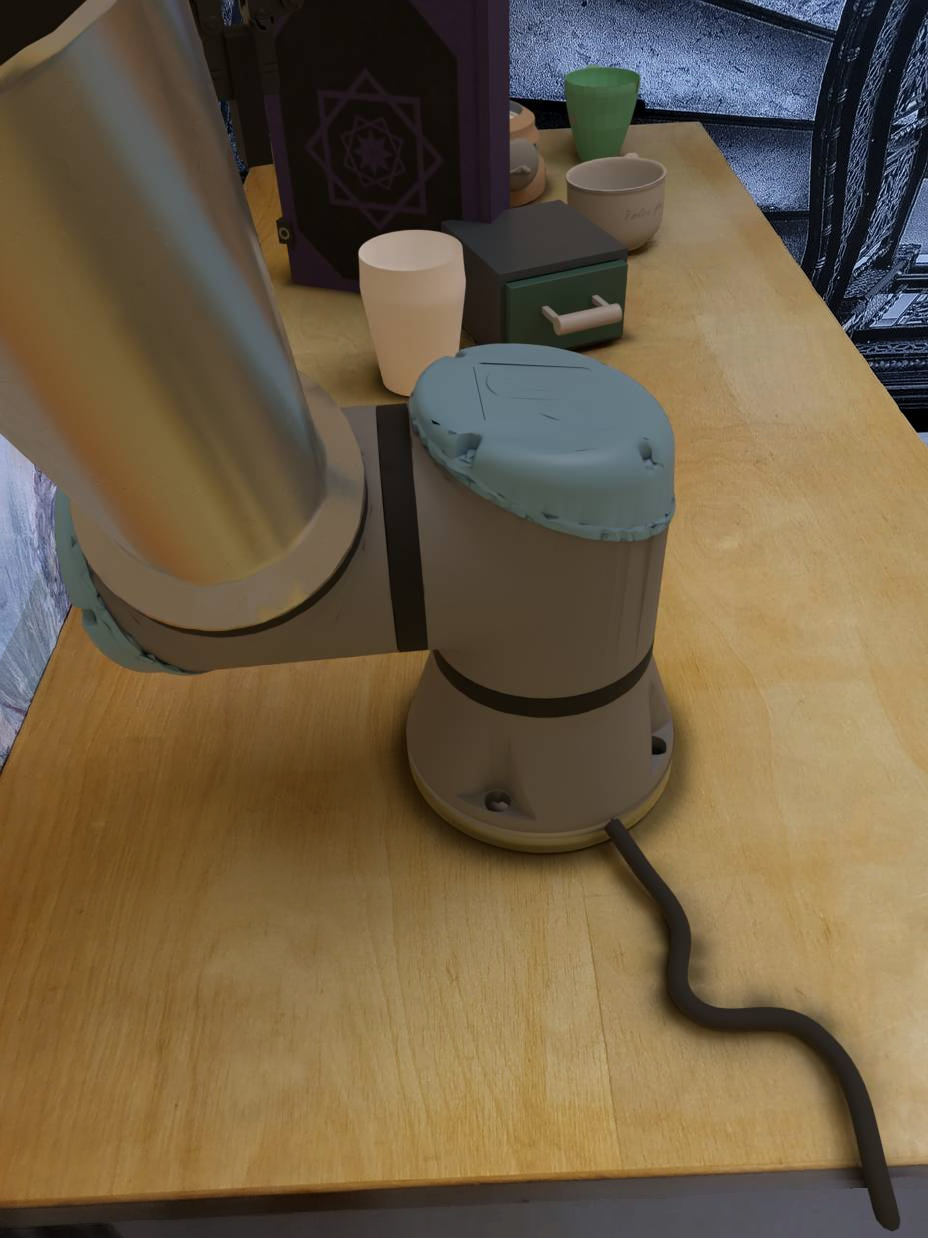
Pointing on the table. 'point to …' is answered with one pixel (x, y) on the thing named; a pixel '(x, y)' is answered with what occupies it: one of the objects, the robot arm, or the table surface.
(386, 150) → the book
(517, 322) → the drawer
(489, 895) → the table surface
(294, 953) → the table surface
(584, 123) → the green tumbler
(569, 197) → the teacup
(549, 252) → the cabinet
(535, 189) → the alarm clock
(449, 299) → the cup
